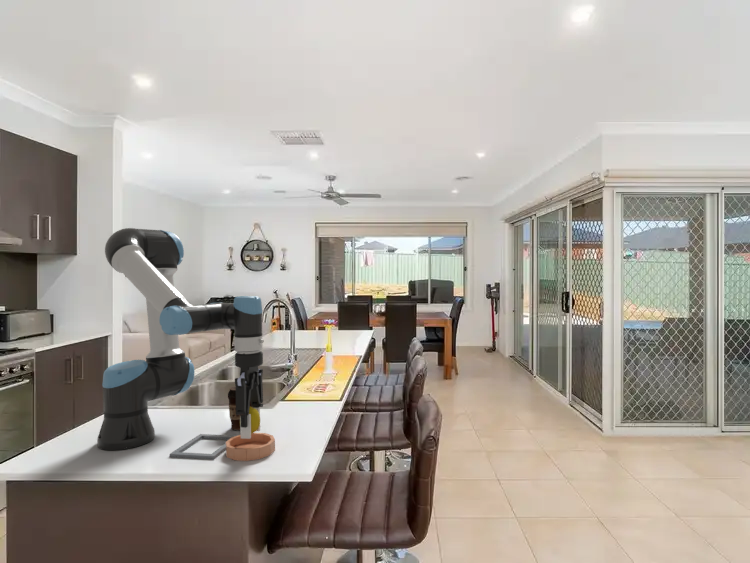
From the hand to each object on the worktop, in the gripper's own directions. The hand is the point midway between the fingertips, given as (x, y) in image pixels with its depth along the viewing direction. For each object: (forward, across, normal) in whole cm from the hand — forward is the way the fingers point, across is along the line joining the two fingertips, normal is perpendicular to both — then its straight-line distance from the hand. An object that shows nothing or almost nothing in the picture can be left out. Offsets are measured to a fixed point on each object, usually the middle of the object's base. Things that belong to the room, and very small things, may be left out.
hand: (250, 434), depth 130 cm
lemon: (0, 0, 0) cm, 0 cm away
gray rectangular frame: (+5, +2, +14) cm, 15 cm away
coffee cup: (+5, +19, +12) cm, 23 cm away
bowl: (+5, 0, 0) cm, 5 cm away
